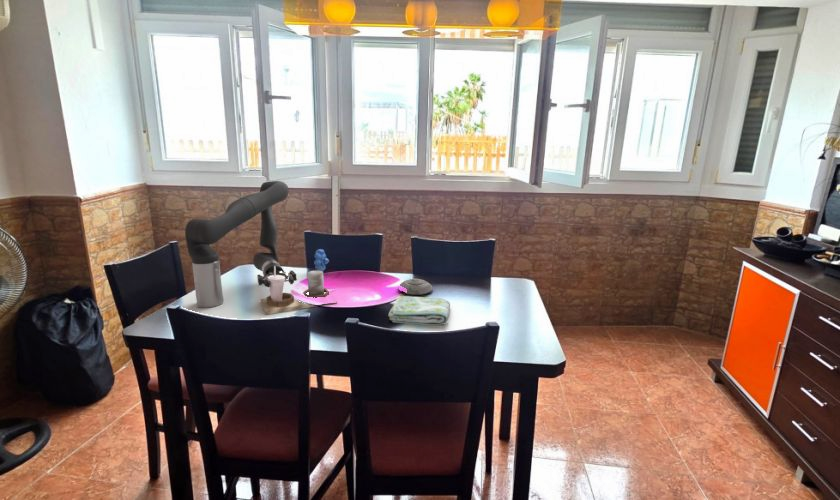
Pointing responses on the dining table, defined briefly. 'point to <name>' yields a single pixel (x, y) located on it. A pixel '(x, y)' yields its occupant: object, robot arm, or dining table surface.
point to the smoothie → (276, 286)
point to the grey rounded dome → (417, 286)
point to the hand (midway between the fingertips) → (280, 283)
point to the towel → (420, 310)
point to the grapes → (320, 260)
